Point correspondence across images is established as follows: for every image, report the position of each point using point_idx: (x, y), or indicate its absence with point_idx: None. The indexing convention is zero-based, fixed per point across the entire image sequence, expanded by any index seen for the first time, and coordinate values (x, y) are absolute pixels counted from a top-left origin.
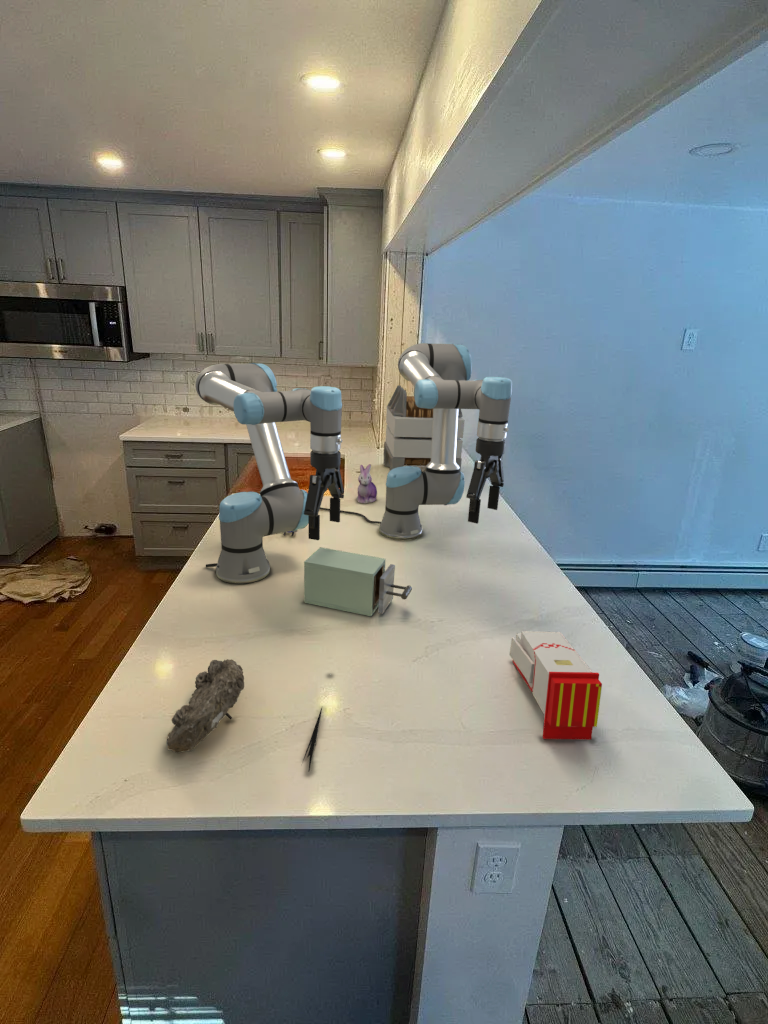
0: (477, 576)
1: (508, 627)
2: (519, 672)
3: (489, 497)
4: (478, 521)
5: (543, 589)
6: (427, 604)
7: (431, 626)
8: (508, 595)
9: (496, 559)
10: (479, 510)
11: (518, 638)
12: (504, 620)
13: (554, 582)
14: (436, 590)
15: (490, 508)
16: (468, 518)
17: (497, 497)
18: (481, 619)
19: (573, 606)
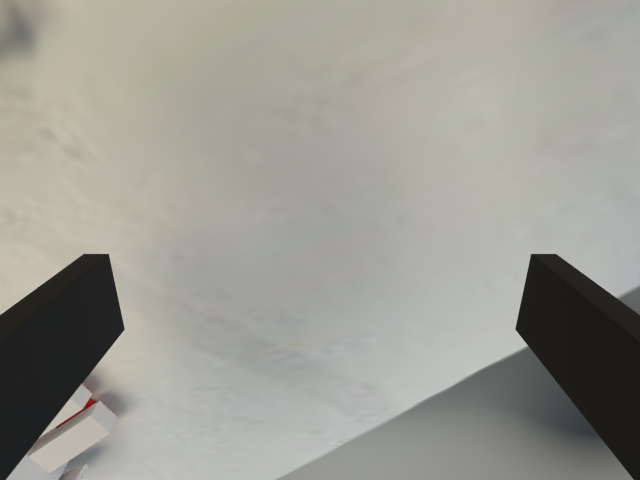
0: (429, 123)
1: (182, 312)
2: None
3: (596, 320)
4: (114, 337)
5: (447, 322)
6: (124, 66)
7: (25, 145)
8: (351, 256)
9: (616, 124)
10: (52, 411)
11: None
12: (207, 294)
13: (510, 333)
14: (234, 42)
15: (528, 282)
16: (68, 270)
17: (584, 414)
18: (168, 245)
19: (390, 399)
